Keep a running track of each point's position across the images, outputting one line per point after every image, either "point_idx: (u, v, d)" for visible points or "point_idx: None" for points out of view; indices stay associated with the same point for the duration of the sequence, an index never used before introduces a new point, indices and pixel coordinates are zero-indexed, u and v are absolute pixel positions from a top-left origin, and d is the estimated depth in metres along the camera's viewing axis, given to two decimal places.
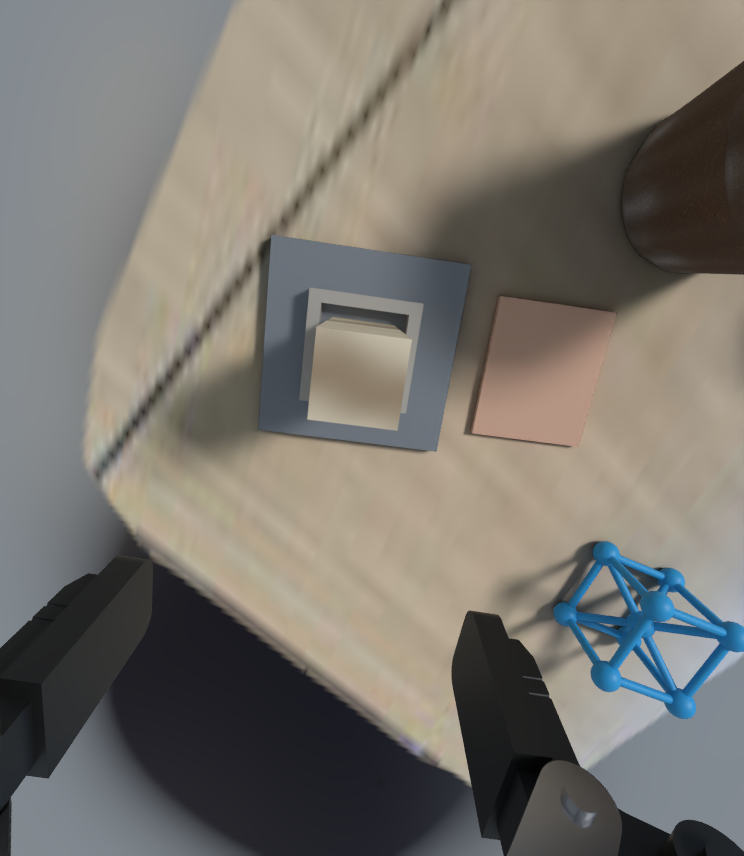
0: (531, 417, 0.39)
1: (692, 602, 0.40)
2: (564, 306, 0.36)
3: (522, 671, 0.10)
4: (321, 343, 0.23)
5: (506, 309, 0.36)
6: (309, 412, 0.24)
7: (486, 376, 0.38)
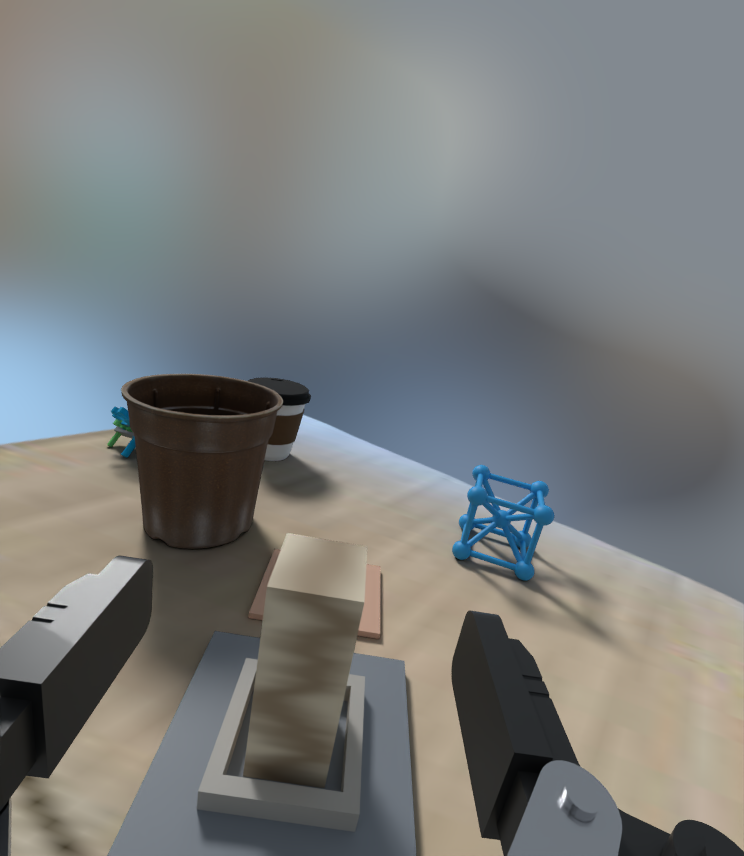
0: None
1: None
2: (265, 574, 0.44)
3: (522, 671, 0.10)
4: (284, 584, 0.22)
5: (261, 608, 0.40)
6: (356, 599, 0.22)
7: None
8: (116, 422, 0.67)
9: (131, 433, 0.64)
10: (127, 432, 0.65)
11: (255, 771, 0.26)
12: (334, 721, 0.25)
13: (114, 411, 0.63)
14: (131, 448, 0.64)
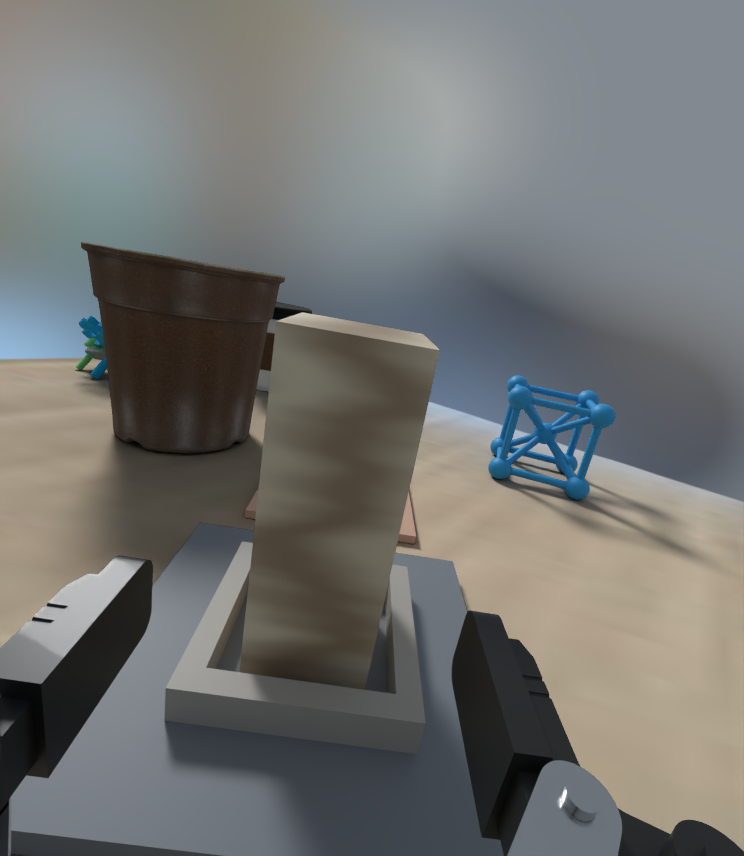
0: None
1: (508, 420, 0.51)
2: None
3: (522, 671, 0.10)
4: (305, 324, 0.13)
5: None
6: (426, 347, 0.13)
7: None
8: (88, 342, 0.58)
9: (103, 352, 0.55)
10: (99, 351, 0.55)
11: (257, 670, 0.17)
12: (381, 580, 0.16)
13: (82, 323, 0.53)
14: (102, 368, 0.54)
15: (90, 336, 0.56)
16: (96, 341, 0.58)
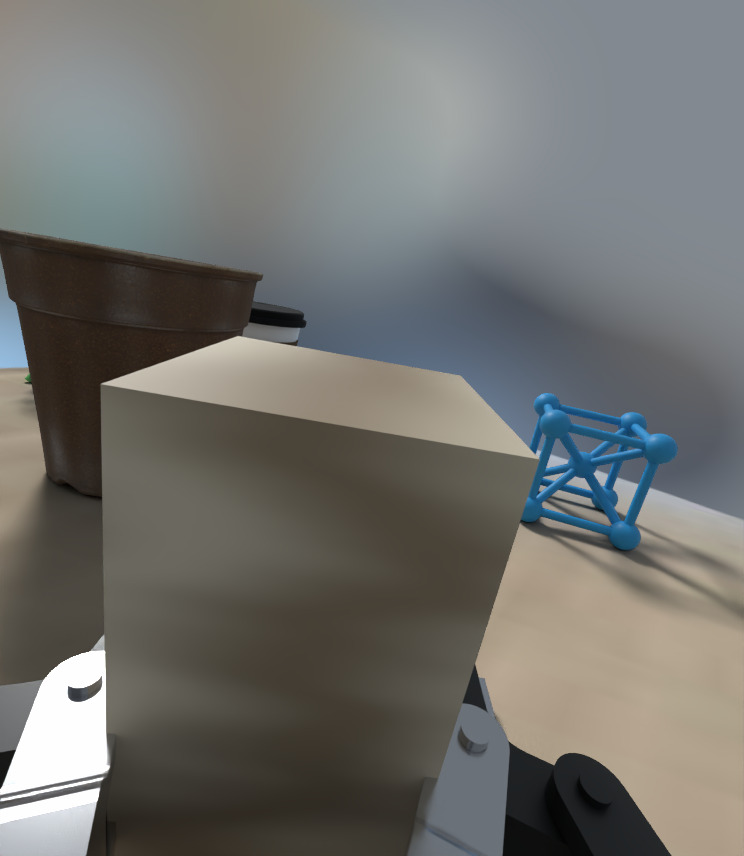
0: None
1: (535, 446, 0.43)
2: None
3: None
4: (189, 390, 0.05)
5: None
6: (503, 450, 0.05)
7: None
8: None
9: None
10: None
11: None
12: None
13: None
14: None
15: None
16: None
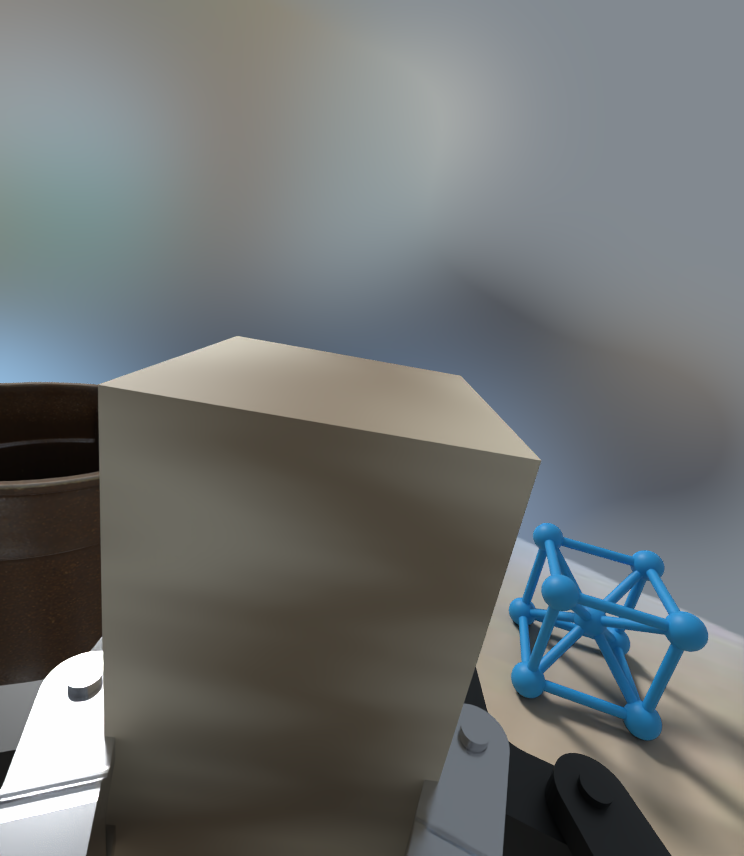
0: None
1: (534, 581, 0.37)
2: None
3: None
4: (187, 390, 0.05)
5: None
6: (504, 451, 0.05)
7: None
8: None
9: None
10: None
11: None
12: None
13: None
14: None
15: None
16: None
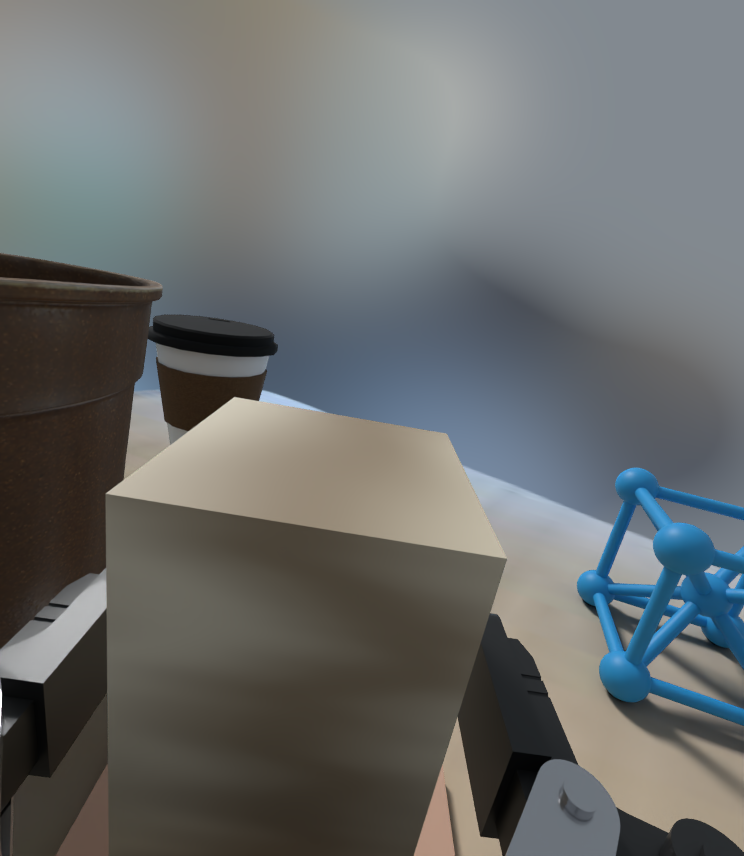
0: None
1: (616, 547, 0.28)
2: None
3: (521, 670, 0.10)
4: (186, 493, 0.06)
5: None
6: (474, 549, 0.06)
7: None
8: None
9: None
10: None
11: None
12: None
13: None
14: None
15: None
16: None
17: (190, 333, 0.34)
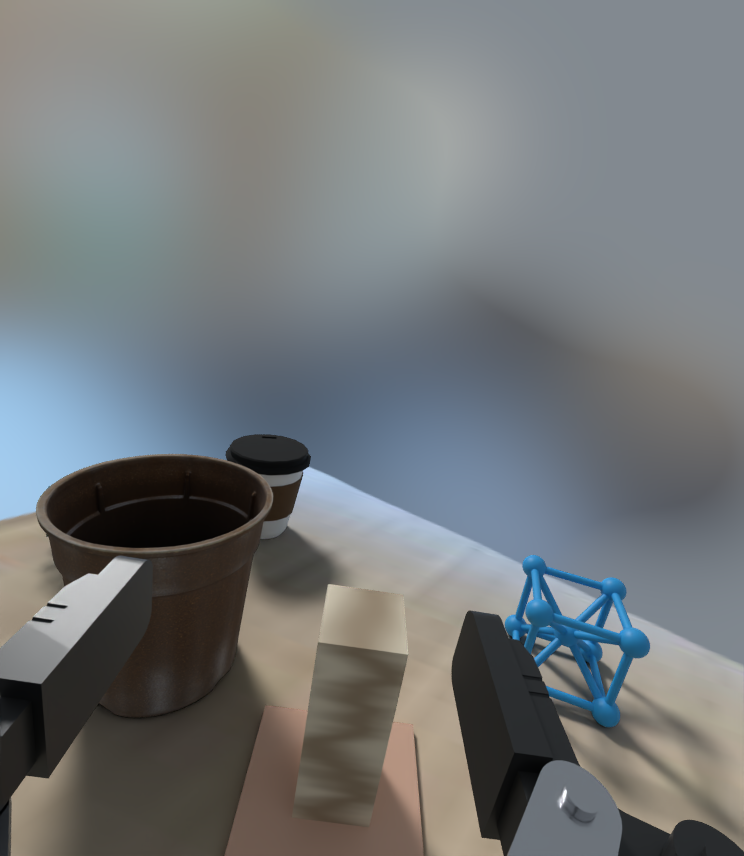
0: (388, 787, 0.30)
1: (524, 602, 0.46)
2: (251, 763, 0.31)
3: (522, 671, 0.10)
4: (333, 639, 0.24)
5: (243, 847, 0.26)
6: (400, 652, 0.24)
7: None
8: None
9: None
10: None
11: (303, 812, 0.28)
12: (378, 764, 0.26)
13: None
14: None
15: None
16: None
17: (258, 462, 0.53)
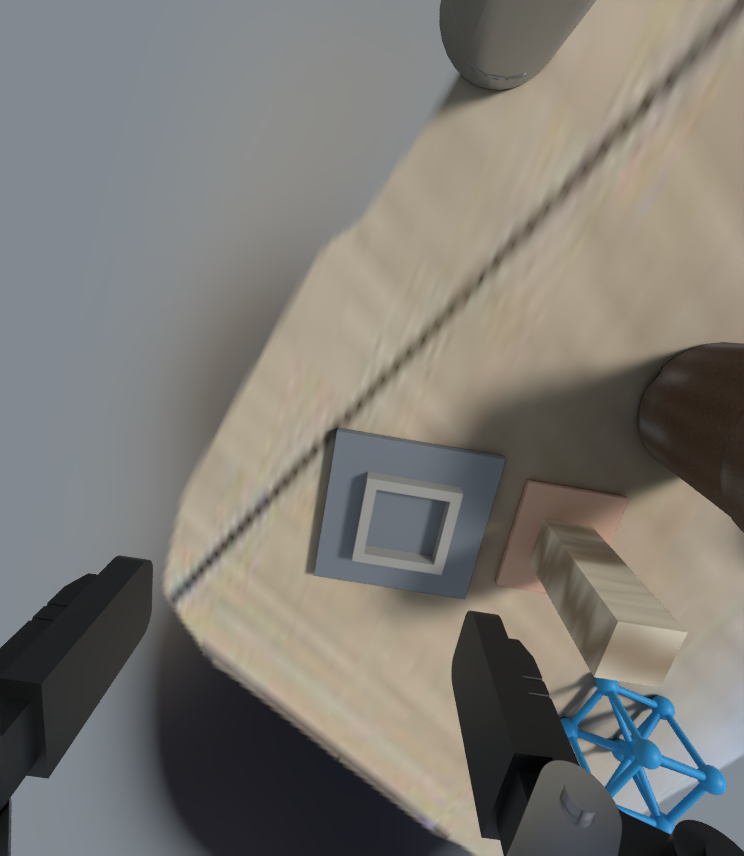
0: None
1: (679, 736, 0.47)
2: (583, 492, 0.42)
3: (522, 671, 0.10)
4: (618, 632, 0.30)
5: (533, 492, 0.42)
6: (597, 673, 0.31)
7: (512, 542, 0.44)
8: None
9: None
10: None
11: (543, 527, 0.43)
12: (550, 595, 0.39)
13: None
14: None
15: None
16: None
17: None
